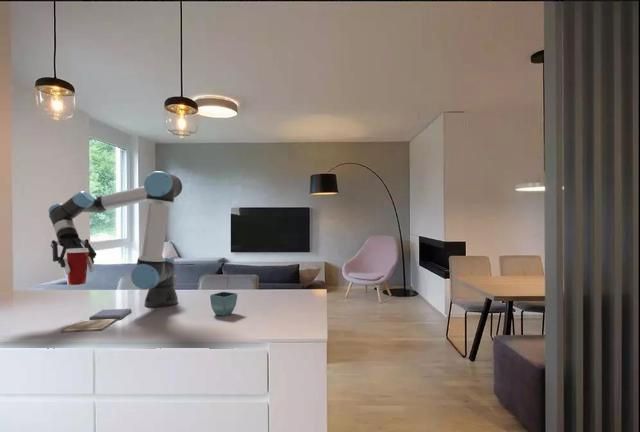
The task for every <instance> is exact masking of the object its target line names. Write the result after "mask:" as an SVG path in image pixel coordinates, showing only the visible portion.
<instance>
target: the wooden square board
mask: <svg viewBox="0 0 640 432" xmlns="http://www.w3.org/2000/svg"><path fill="white" fill-rule="evenodd" d="M118 320H119V319H102V320H89V319H86V320H85V319H81V320H78V321H77V322H75V323H74V324H71V325H70V326H67V327H66V328H65V329H63V330H61V333H70V332H71V333H72V332H92V331H95V332H96V331H103V330H105V329H107V328H108V327H110V326H111V325H113V323H115V322H117V321H118Z"/></svg>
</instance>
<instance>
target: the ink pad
mask: <svg viewBox="0 0 640 432" xmlns="http://www.w3.org/2000/svg"><path fill="white" fill-rule="evenodd" d="M130 313H132V308H117V309H102V310H100V311H97V313H94V314H93V315H91V316H89V317H88V318H89V319H88V320H102V319H118V320H122V319H123V318H125V317H126V316H128V315H129V314H130Z"/></svg>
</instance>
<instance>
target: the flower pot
mask: <svg viewBox="0 0 640 432" xmlns="http://www.w3.org/2000/svg"><path fill="white" fill-rule="evenodd" d="M209 297H210V305H211V309H212V311H213V313H214V314H215V315H217V316H222V317H225V316H227V315H231V314H232V313H233V312H234V310H235V308H236V306H237V300H238V293H236V292H229V291H221V292H220V291H219V292H216V293H213V294H209Z"/></svg>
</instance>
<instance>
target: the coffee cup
mask: <svg viewBox="0 0 640 432" xmlns="http://www.w3.org/2000/svg"><path fill="white" fill-rule="evenodd" d="M88 252H89V251H88V248H85V247H84V248H71V249H66V252H65V254H66V259H67V262H68V265H69V268H70V272H69V274H68V275H67V279H68V280H67V284H68V285H69V286H79V285H85V284H86V283H87V273H88V264H87V263H88Z"/></svg>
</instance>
